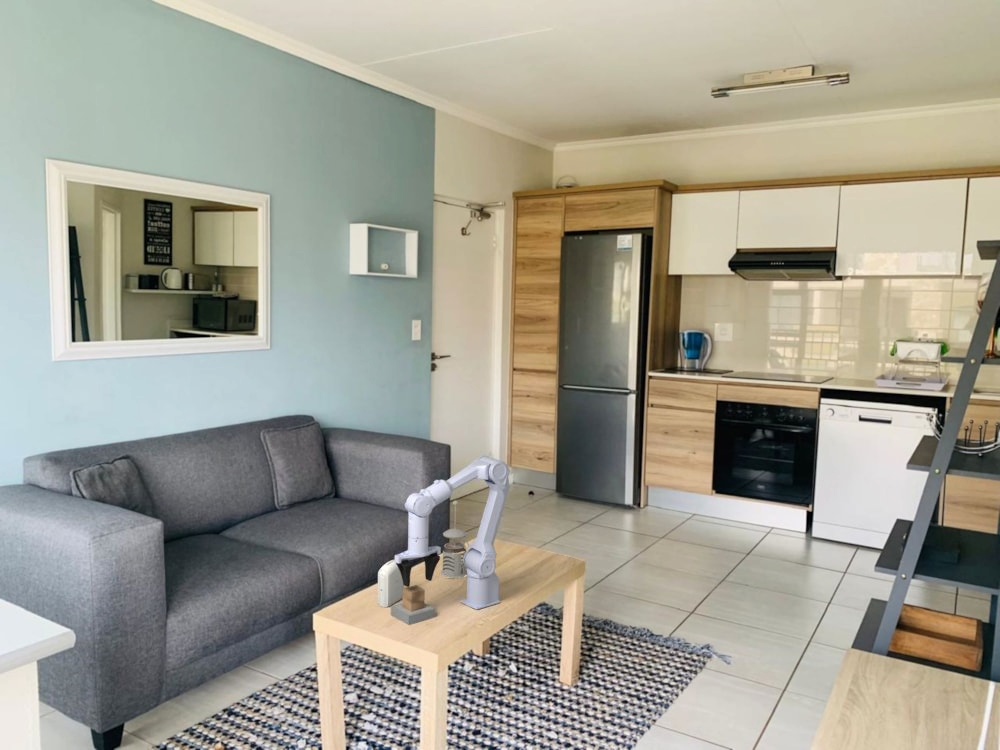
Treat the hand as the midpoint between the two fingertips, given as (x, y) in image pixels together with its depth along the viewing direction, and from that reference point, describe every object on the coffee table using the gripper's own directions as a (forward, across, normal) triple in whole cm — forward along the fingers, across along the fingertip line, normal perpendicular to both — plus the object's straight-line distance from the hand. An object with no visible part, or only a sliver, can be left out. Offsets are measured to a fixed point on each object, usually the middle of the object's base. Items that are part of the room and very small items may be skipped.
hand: (417, 582), depth 212 cm
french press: (+10, -30, -21) cm, 38 cm away
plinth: (+10, +1, -1) cm, 10 cm away
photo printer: (+10, 0, -14) cm, 17 cm away
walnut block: (+7, +1, -1) cm, 7 cm away
